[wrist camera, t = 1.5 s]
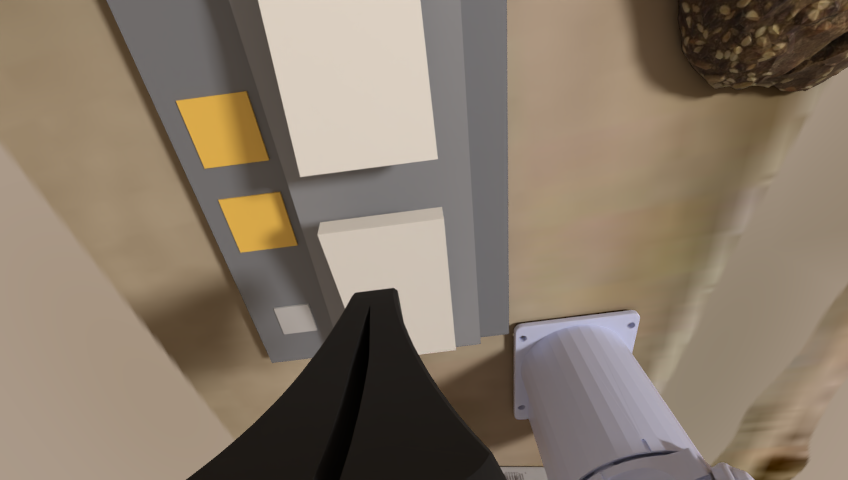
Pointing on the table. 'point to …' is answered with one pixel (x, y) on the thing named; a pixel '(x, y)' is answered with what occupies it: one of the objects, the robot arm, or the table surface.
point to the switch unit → (334, 192)
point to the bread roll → (765, 41)
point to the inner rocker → (397, 268)
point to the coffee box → (524, 473)
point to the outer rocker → (352, 82)
